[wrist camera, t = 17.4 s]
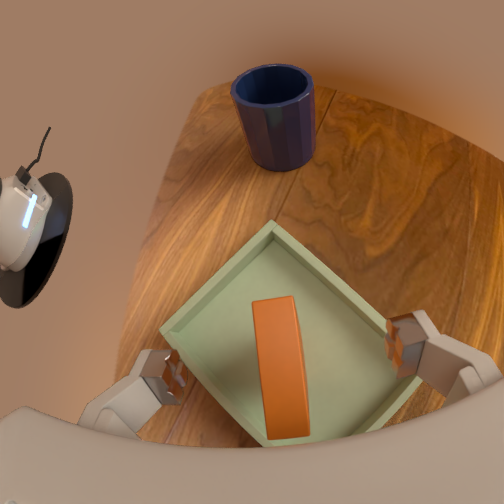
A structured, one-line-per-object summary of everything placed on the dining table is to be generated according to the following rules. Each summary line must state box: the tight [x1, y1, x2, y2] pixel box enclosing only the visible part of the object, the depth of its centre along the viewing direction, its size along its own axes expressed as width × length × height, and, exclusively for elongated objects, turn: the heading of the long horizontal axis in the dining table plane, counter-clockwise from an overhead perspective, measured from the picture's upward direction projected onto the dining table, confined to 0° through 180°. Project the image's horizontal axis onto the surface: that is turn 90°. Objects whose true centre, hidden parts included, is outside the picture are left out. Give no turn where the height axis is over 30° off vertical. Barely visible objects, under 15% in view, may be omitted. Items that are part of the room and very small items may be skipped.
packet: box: [251, 295, 310, 440], centre depth 14 cm, size 1×5×14 cm, turn 6°
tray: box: [159, 220, 423, 447], centre depth 20 cm, size 19×14×3 cm
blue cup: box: [230, 64, 316, 171], centre depth 25 cm, size 7×7×9 cm
